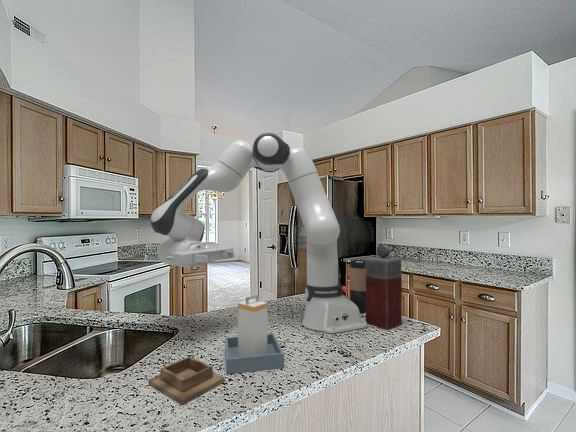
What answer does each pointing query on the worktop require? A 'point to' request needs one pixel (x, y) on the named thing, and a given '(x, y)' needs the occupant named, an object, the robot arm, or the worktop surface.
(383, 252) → the red square storage jar
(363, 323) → the robot arm
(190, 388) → the dock
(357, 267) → the travel mug
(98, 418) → the worktop surface
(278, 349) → the tray
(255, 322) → the tall lidded canister
